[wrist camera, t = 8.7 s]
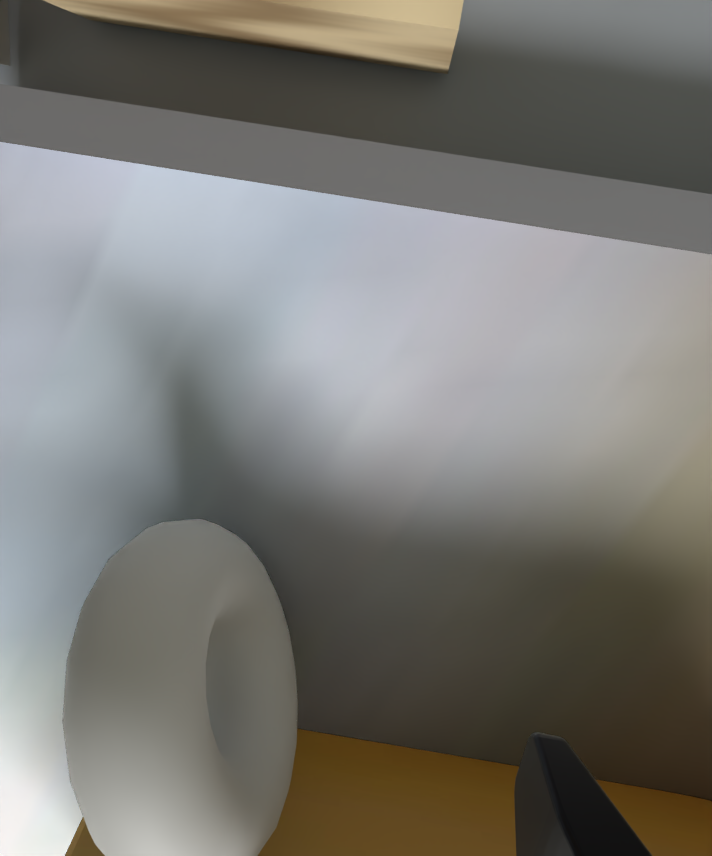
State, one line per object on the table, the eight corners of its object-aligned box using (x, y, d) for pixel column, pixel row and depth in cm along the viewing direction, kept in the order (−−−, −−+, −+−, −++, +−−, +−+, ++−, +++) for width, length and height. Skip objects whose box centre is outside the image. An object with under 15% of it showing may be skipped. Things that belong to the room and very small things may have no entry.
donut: (148, 475, 23) (-39, 688, 14) (243, 454, 22) (114, 663, 13) (242, 702, 26) (143, 998, 17) (327, 689, 26) (272, 990, 16)
